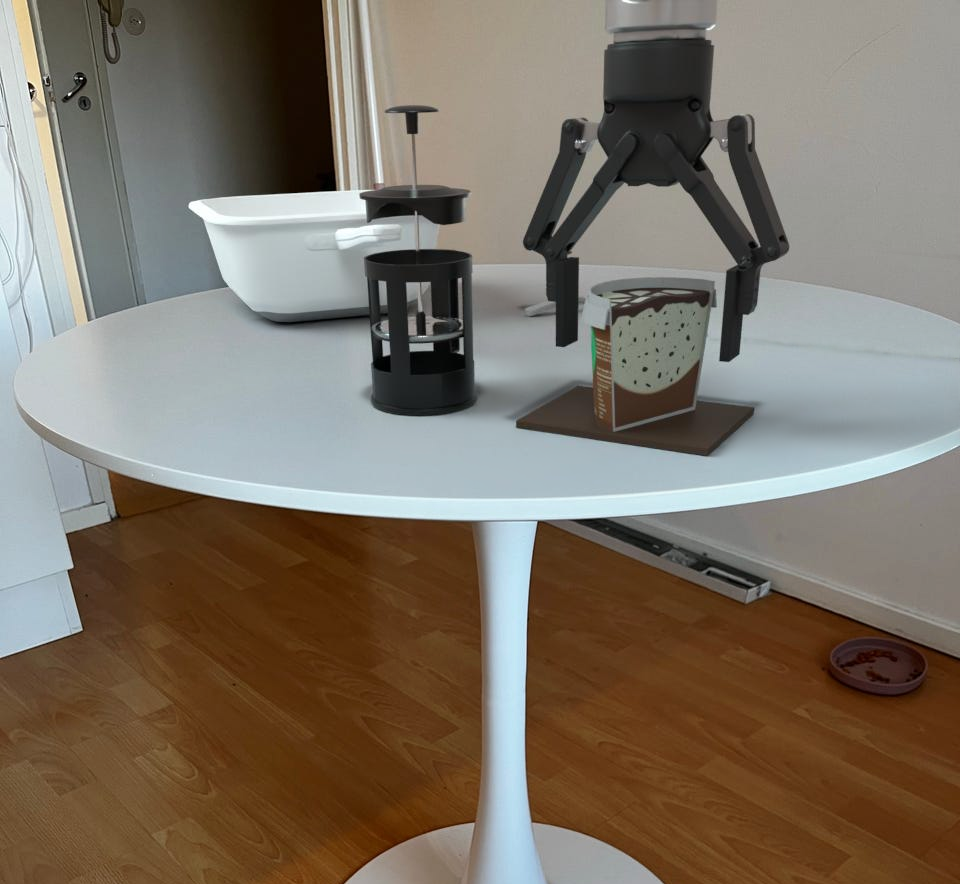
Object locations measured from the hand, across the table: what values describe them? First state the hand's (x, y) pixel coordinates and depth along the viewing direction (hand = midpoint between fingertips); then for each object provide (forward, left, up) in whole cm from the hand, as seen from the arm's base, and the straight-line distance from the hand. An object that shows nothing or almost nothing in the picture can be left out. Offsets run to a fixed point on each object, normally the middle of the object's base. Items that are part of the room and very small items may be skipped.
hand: (645, 351), depth 79 cm
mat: (0, 0, -6) cm, 6 cm away
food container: (+1, 0, -5) cm, 5 cm away
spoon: (+24, -39, -6) cm, 46 cm away
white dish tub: (+47, -23, -6) cm, 53 cm away
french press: (+19, +2, -6) cm, 20 cm away
